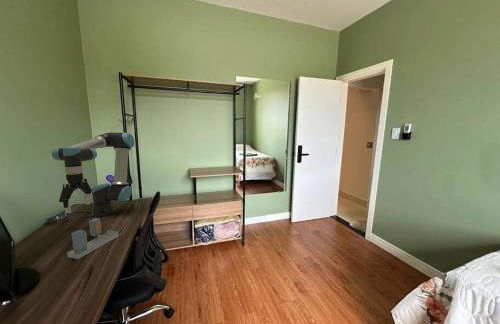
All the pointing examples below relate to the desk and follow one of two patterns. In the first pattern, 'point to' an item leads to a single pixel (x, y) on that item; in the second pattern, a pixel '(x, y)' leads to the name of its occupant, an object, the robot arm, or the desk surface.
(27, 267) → the desk surface
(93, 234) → the grey orange block
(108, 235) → the rail
